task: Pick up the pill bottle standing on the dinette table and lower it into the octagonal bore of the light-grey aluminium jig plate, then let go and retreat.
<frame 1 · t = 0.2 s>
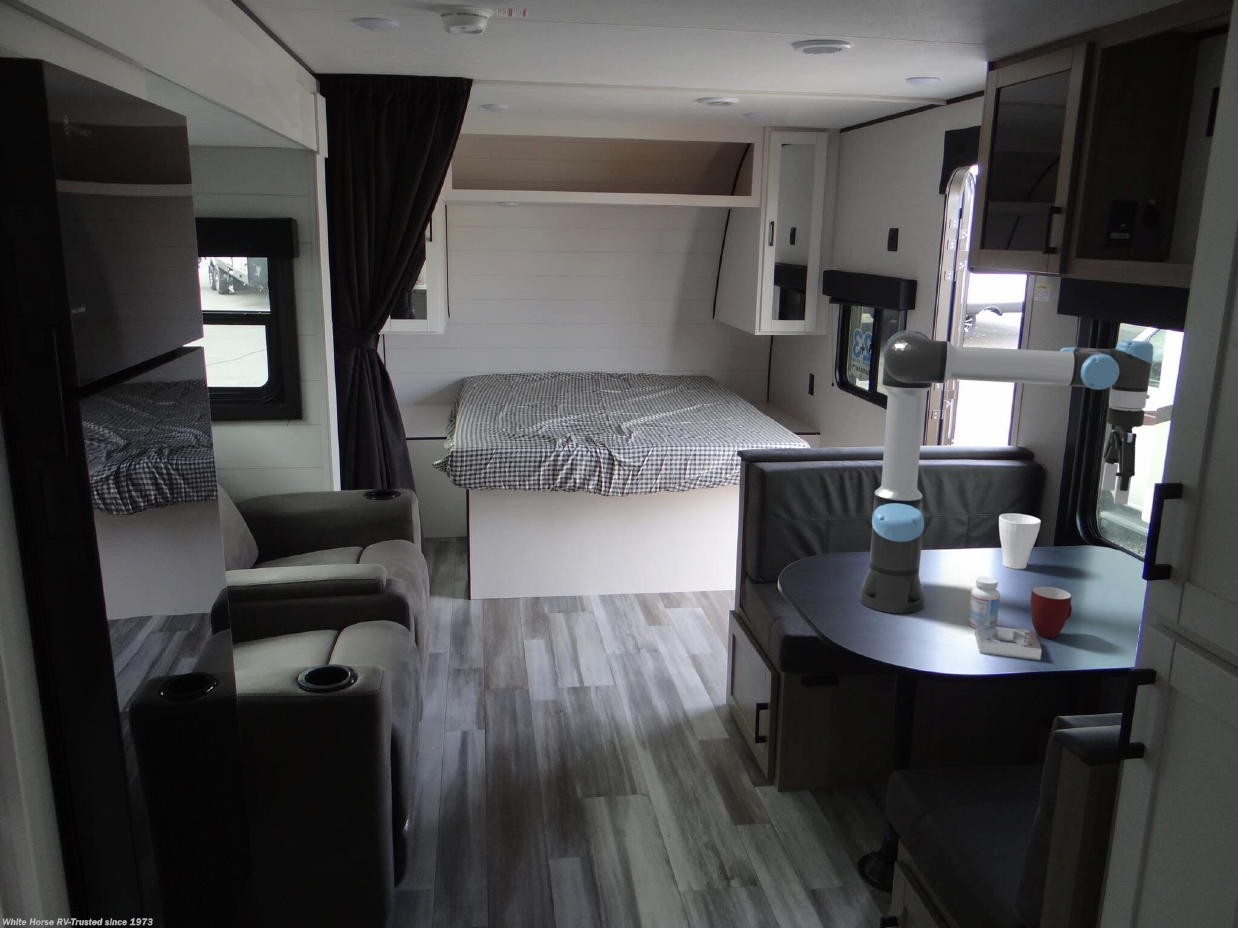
hand: (1113, 496, 219), 28 cm above the table, fingers open, 13 cm apart
pill bottle: (981, 626, 211), on the table
mug: (1049, 634, 208), on the table
jig: (1006, 647, 200), on the table
cup: (1014, 566, 254), on the table
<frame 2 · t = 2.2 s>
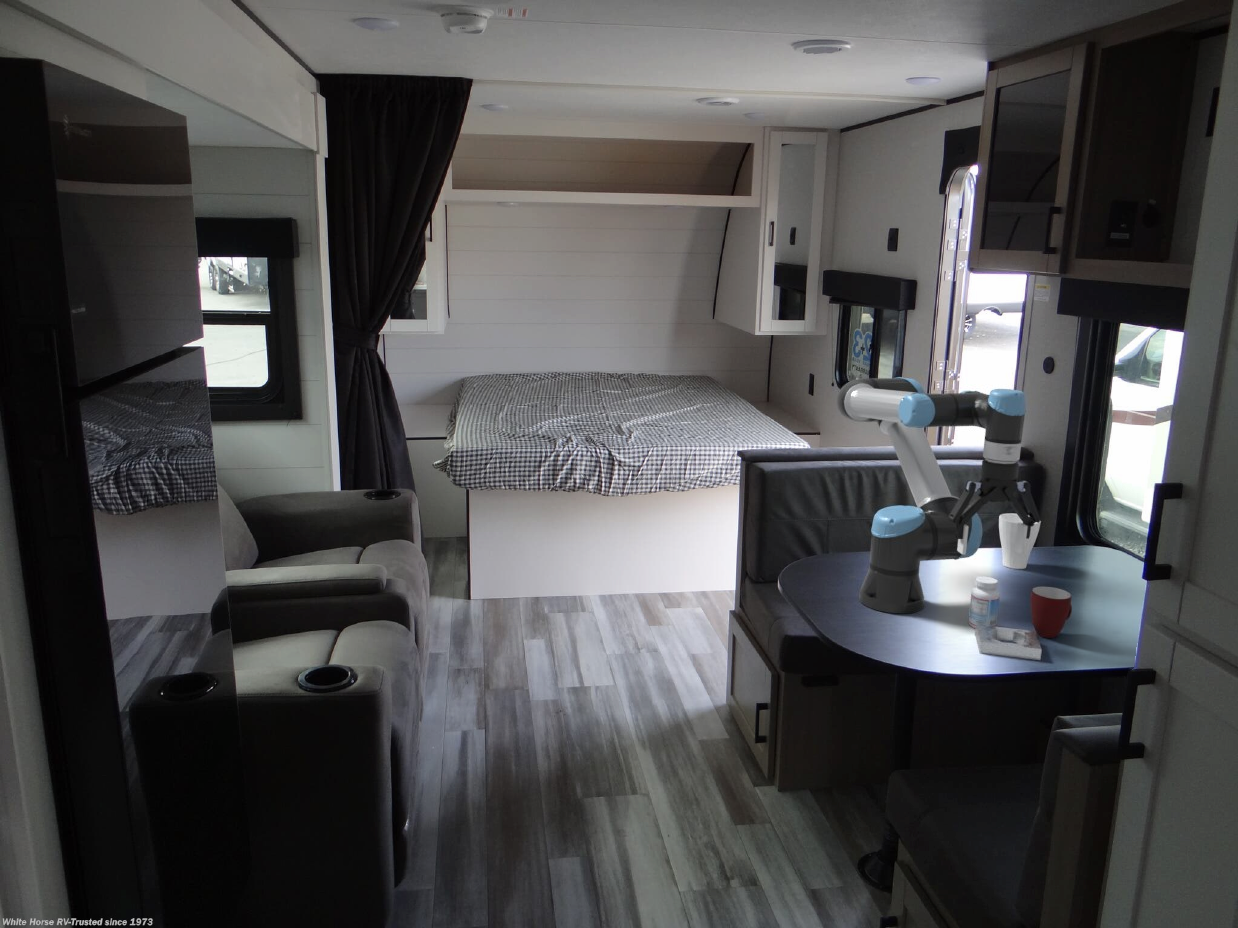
hand: (990, 552, 207), 18 cm above the table, fingers open, 13 cm apart
nothing on the table moved.
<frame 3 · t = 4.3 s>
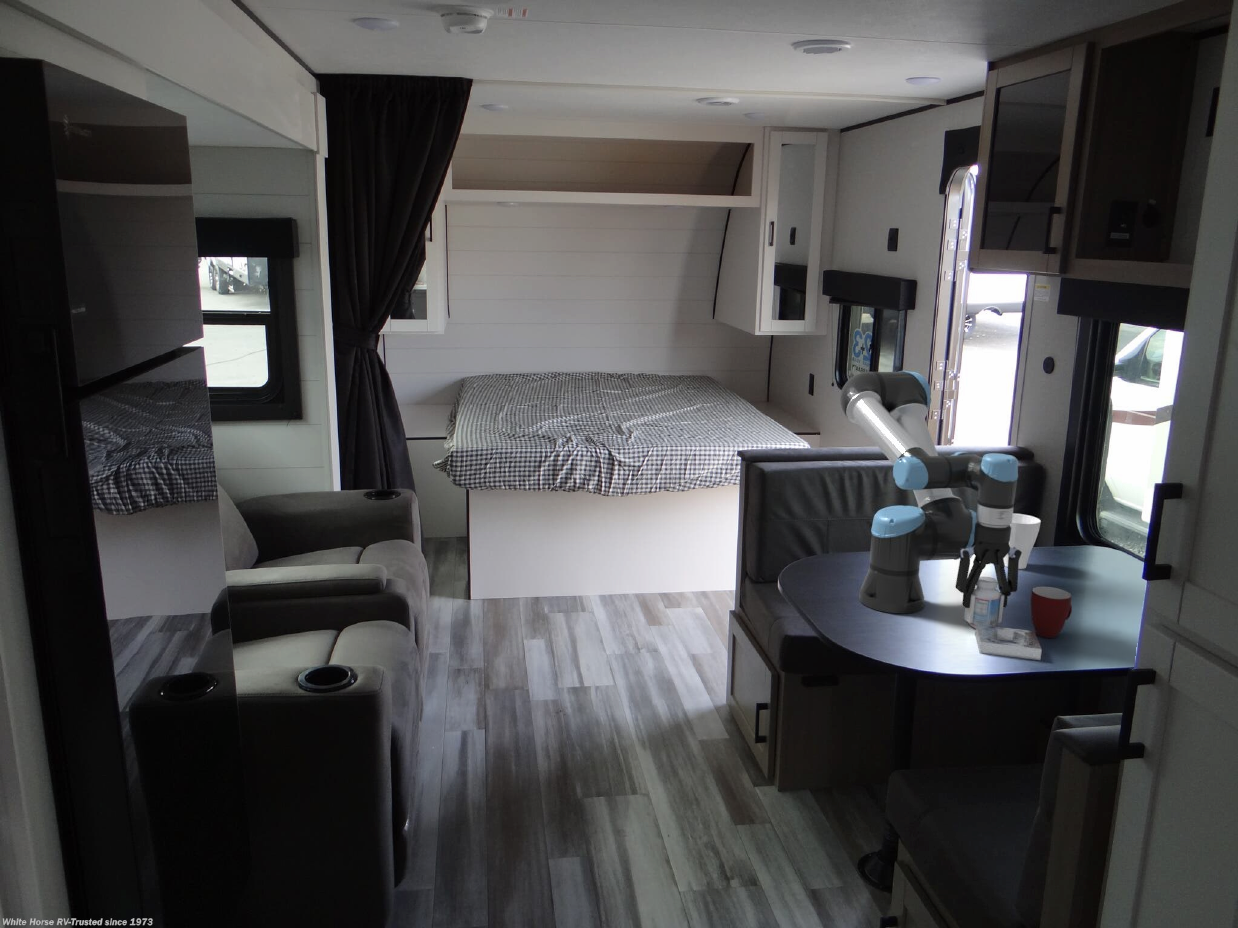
hand: (982, 620, 211), 1 cm above the table, fingers closed on pill bottle, 6 cm apart
pill bottle: (981, 626, 211), on the table, touching gripper
everything else where it was.
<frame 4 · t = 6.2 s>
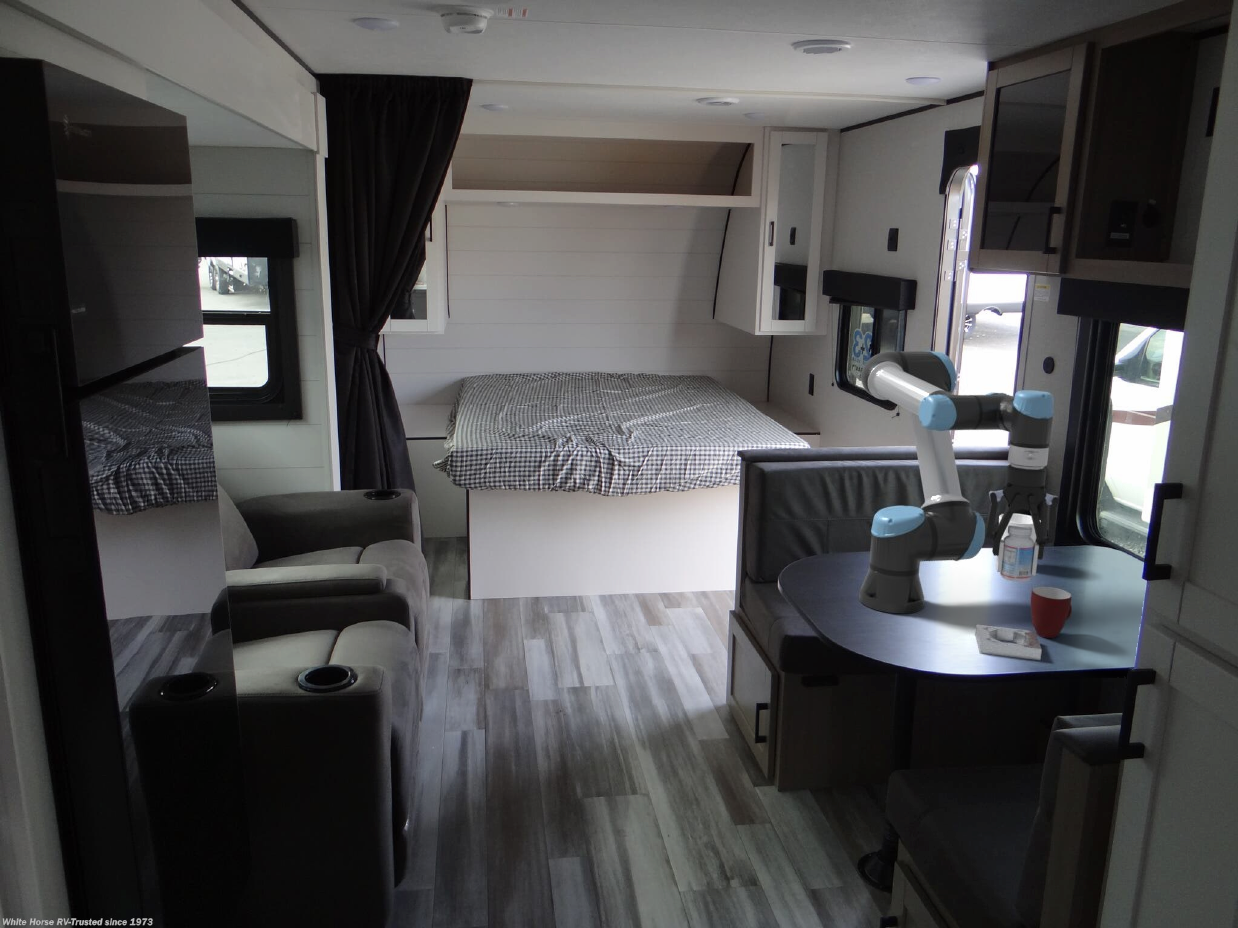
hand: (1015, 571, 196), 17 cm above the table, fingers closed on pill bottle, 6 cm apart
pill bottle: (1014, 578, 197), point 16 cm above the table, touching gripper
everything else where it was.
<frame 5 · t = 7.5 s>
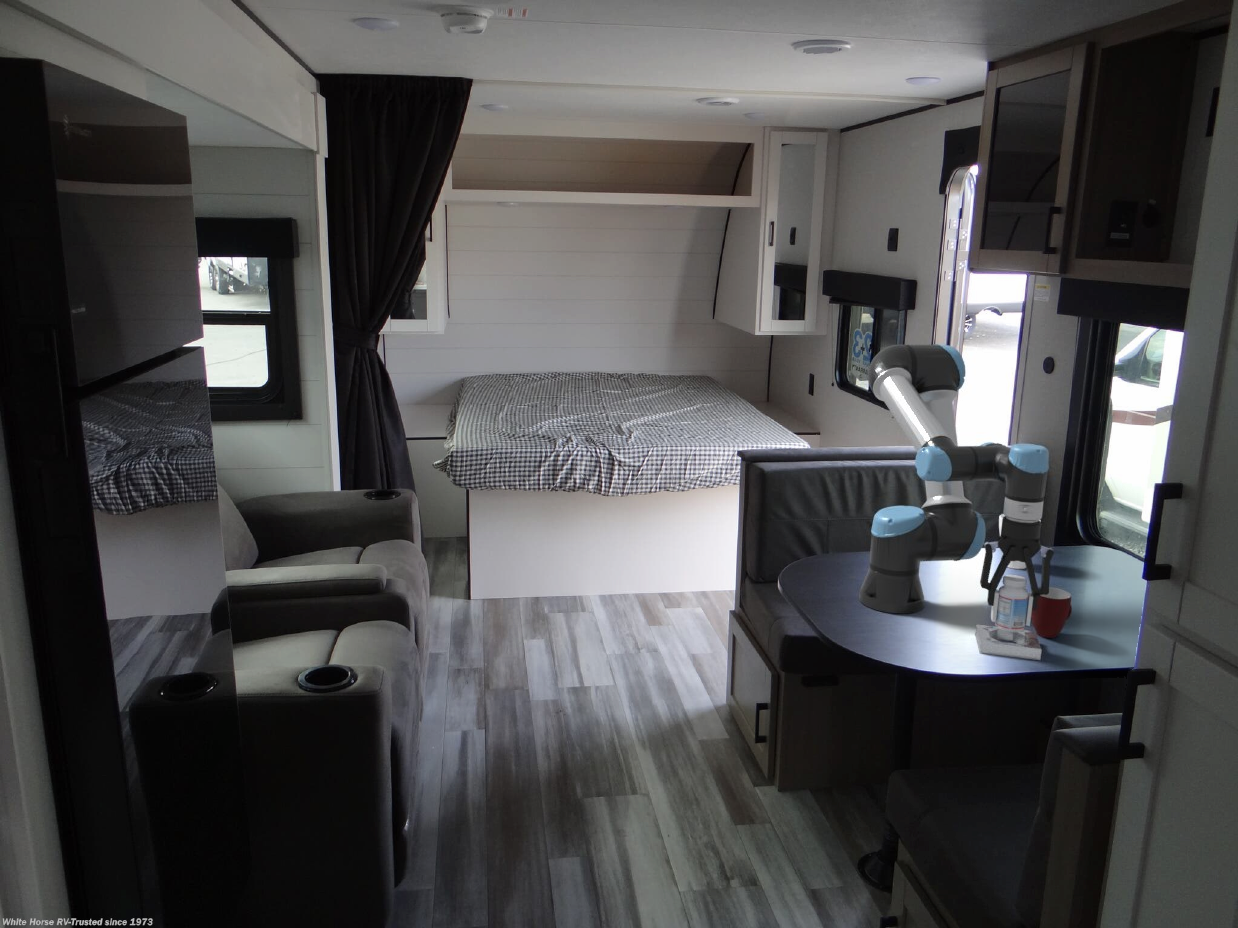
hand: (1010, 621, 199), 6 cm above the table, fingers closed on pill bottle, 6 cm apart
pill bottle: (1009, 628, 199), point 4 cm above the table, touching gripper
everything else where it was.
when the fingers open (3 cm above the table, at t = 8.3 s): pill bottle drops 2 cm, resting in jig.
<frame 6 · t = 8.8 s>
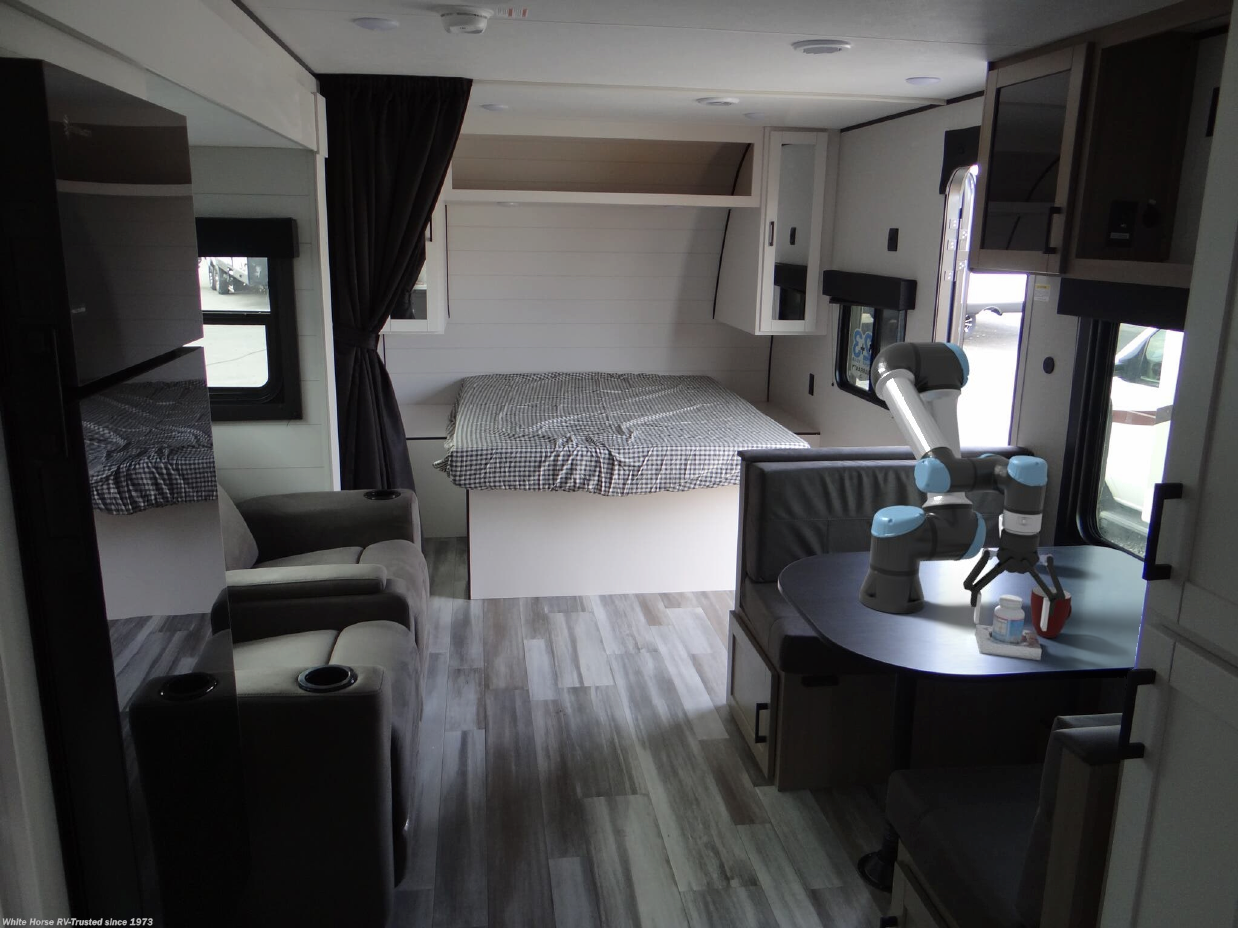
hand: (1009, 624, 199), 5 cm above the table, fingers open, 13 cm apart
pill bottle: (1005, 647, 200), resting in jig
everything else where it was.
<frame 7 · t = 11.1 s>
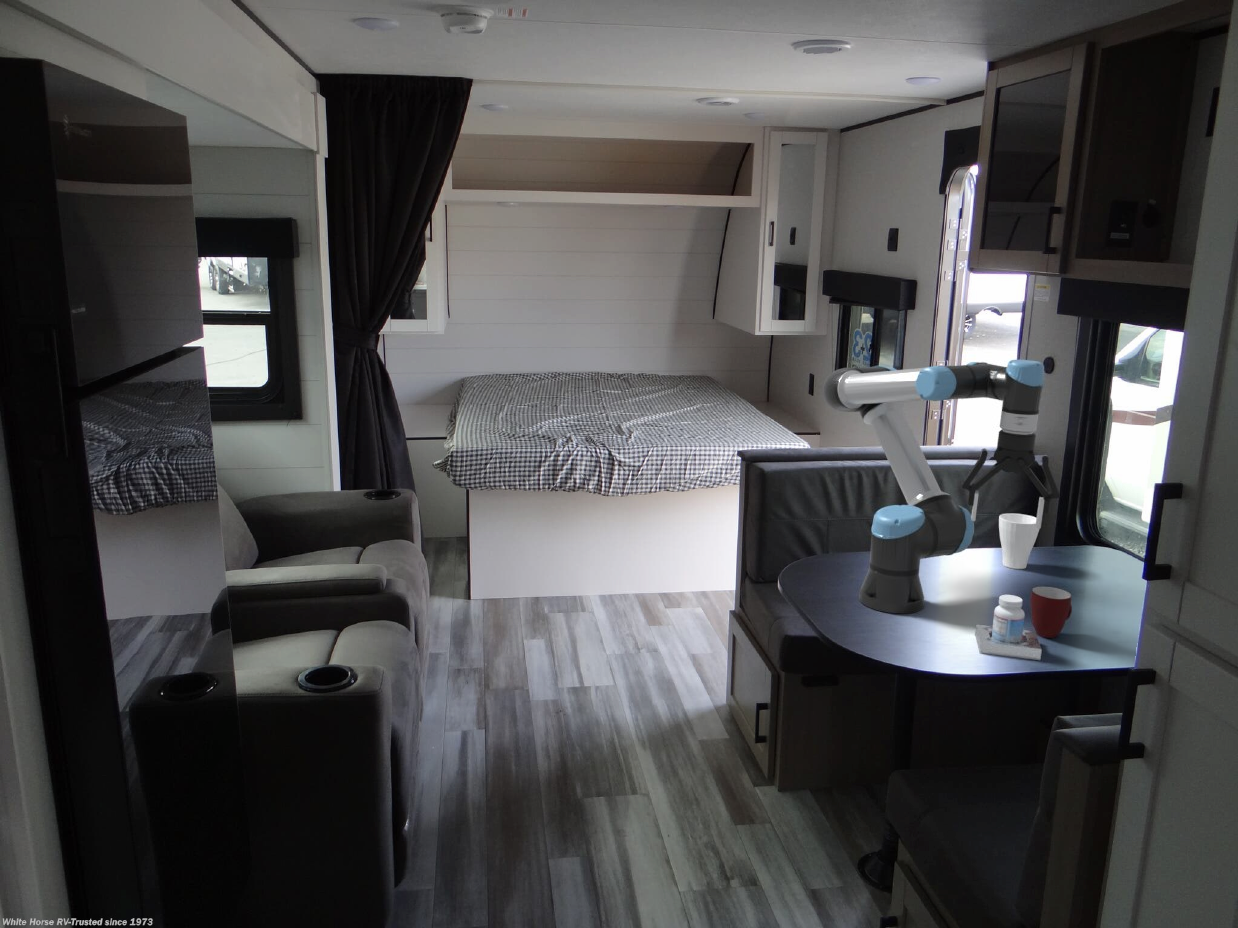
hand: (1005, 523, 208), 24 cm above the table, fingers open, 13 cm apart
nothing on the table moved.
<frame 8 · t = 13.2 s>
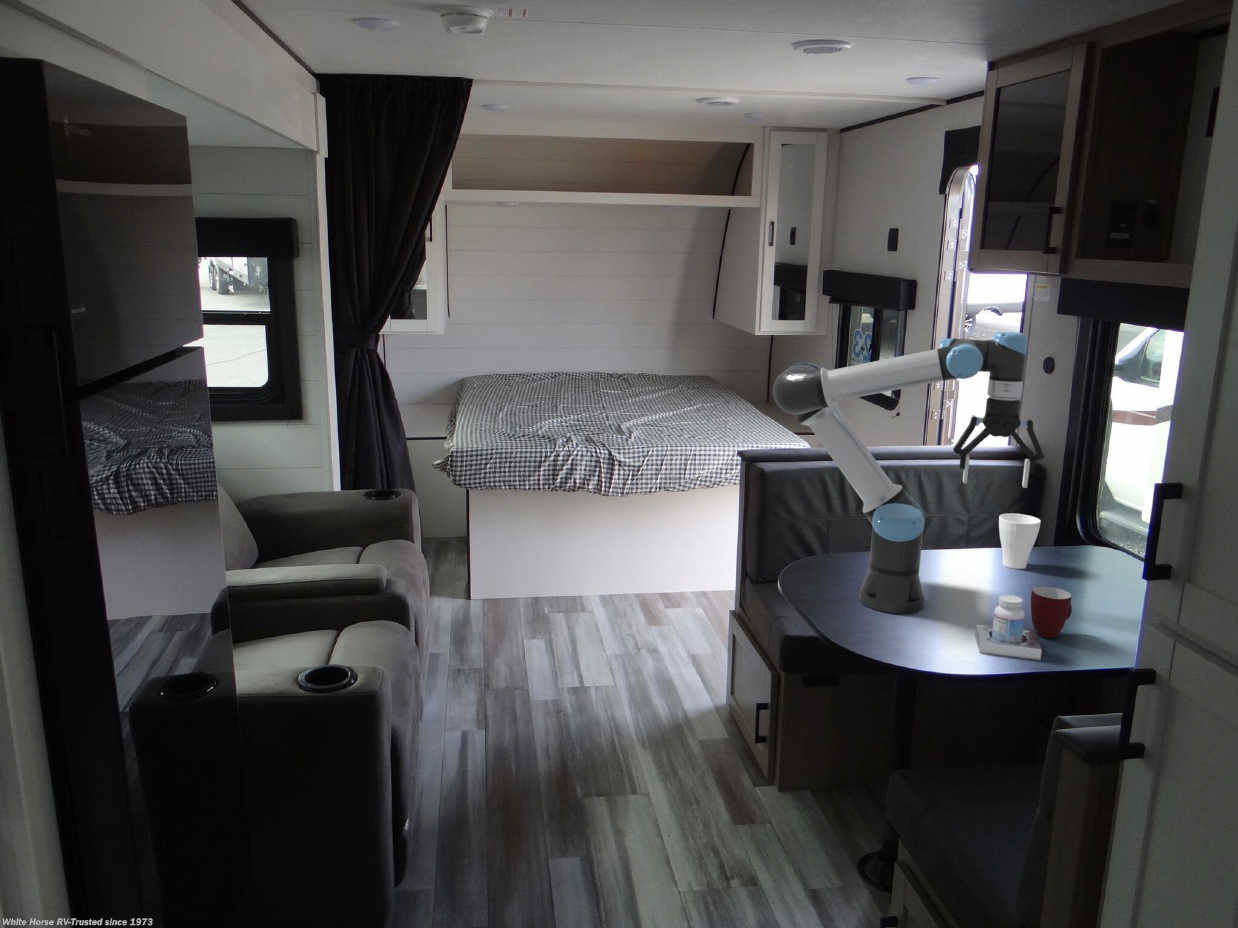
hand: (994, 484, 224), 29 cm above the table, fingers open, 13 cm apart
nothing on the table moved.
at the end: pill bottle 0.2 cm from the jig (horizontally); pill bottle tilted 0°; pill bottle touching table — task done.
